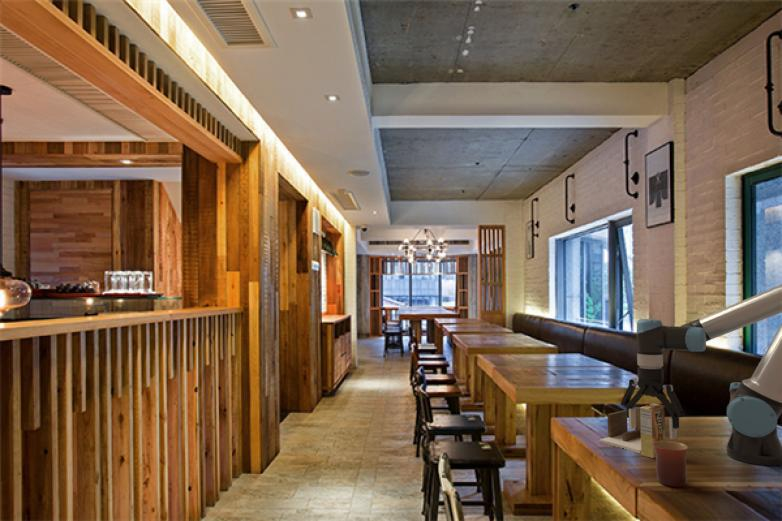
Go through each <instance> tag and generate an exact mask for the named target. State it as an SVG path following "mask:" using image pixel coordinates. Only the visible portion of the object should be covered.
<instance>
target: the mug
mask: <svg viewBox="0 0 782 521" xmlns="http://www.w3.org/2000/svg"><path fill="white" fill-rule="evenodd" d="M652 444H653V447H654V450H655V454H656V457H655V473H656V478H657V481H658V482H659V483H660V484H662V485H664V486H667V487H670V488H671V487H672V488H679V487H680V488H681V487H684V486H685V485H687V480H688V479H687V478H688V475H687V474H688V473H687V461H686V460H687V454H688V451H689V446H688V445H686V444H684V443H681V442H678V441H673V440H672V441H671V440H665V441H655V442H653V443H652Z"/></svg>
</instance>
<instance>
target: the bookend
mask: <svg viewBox="0 0 782 521" xmlns="http://www.w3.org/2000/svg"><path fill="white" fill-rule="evenodd" d="M635 408H636V428H634V429H635V430H634V429H632V430H630V431H628V432H626V433H623V441H625V442H626V441H629V440H633V439H636V438H641V423H640V407H635Z"/></svg>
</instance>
